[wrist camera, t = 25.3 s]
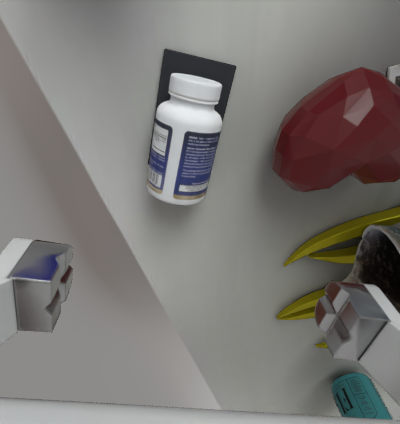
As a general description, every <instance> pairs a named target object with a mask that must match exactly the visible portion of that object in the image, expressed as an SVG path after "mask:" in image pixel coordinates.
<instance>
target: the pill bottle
mask: <svg viewBox="0 0 400 424" xmlns="http://www.w3.org/2000/svg"><path fill="white" fill-rule="evenodd" d="M221 89H222V84H220V83H219V82H216V81H213V80H210V79H206V78H203V77H198V76H193V75H188V74H181V73H172V74H171V77H170V83H169V91H168V93H169V94H170V95H171V97H170V100H169V101H165V102H163V103H161V104H160V105H159V106H158V108H157V111H156V118H155V125H154V132H153V140H152V147H151V154H150V162H149V169H148V177H147V189H148V191H149V192H150V194H151V195H152V196H154V197H155V198H157V199H159V200H161V201H163V202H167V203H170V204H175V205H194V204H197V203H199V202H201V201H202V200H203V199H204V197H205V194H206V191H207V187H208V182H209V178H210V174H211V170H212V166H213V161H214V157H215V153H216V149H217V145H218V141H219V137H220V133H221V128H222V119H221V116H220V115H219V114H218V113H217V112H216V111H215V110H214V107H215V105H216V104H218V100H219V99H220V94H221Z"/></svg>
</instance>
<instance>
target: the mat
mask: <svg viewBox="0 0 400 424" xmlns="http://www.w3.org/2000/svg"><path fill="white" fill-rule="evenodd" d="M235 70H236V66H234V65H230V64H226V63H222V62H218V61H214V60H209V59H205V58H201V57H197V56H193V55H189V54H185V53H181V52H176V51H172V50H168V49H165V50H164V56H163V63H162V70H161V77H160V84H159V91H158V98H157V105H156V111H157V108H158V106H159V105H160V104H161V103H163V102H165V101H169V100H170V97H171V95H170V94H169V93H168V91H169V83H170V77H171V74H172V73H181V74H188V75H193V76H198V77H203V78H206V79H210V80H213V81H216V82H219V83H220V84H222V89H221V94H220V99H219V100H218V104H216V105H215V107H214V110H215V111H216V112H217V113H218V114H219V115H220V116H221V119H222V121H223V117H224V113H225V109H226V106H227V102H228V98H229V94H230V90H231V86H232V82H233V78H234V74H235ZM155 118H156V112H155ZM154 125H155V119H154ZM153 132H154V126H153ZM153 132H152V139H151V146H150V153H149V160H148V165H149V162H150V154H151V147H152V140H153Z"/></svg>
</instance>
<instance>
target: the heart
mask: <svg viewBox="0 0 400 424" xmlns="http://www.w3.org/2000/svg"><path fill="white" fill-rule="evenodd" d="M272 168H273V170H274V171H275V172H276V174H277V175H278V176H279V177H280V178H281V179H282V180H283V181H284V182H285V183H286V184H287V185H288V186H289V187H291V188H292V189H293V190H296V191H301V192H308V191H314V190H320V189H326V188H330V187H331V186H333V185H334V184H336V183H338V182H339V181H341V180H342V179H344V178H345V177H347V176H348V175H350V174H351V175H352V176H354V177H355V178H356V179H358V180H359V181H361V182H362V183H364V184H369V183H383V182H395V181H397V180H398V179H399V178H400V87H398V86H397V85H396V84H394V83H393V82H392V81H390V80H389V79H388V78H386V77H385V76H384V75H382V74H381V73H380V72H377V71H373V70H370V69H366V68H363V67H361V68H358V69H355V70H352V71H349V72H346V73H343V74H341V75H338V76H335V77H333V78H331V79H329V80H327V81H326V82H324V83H323V84H322V85H320V86H319V87H317V88H316V89H314V90H313V91H312V92H310V93H309V94H307V95H306V96H305V97H303V98H302V99H301V100H300V101H299V102H298V103H297V104H296V105H295V106H294V107H293V108H292V109H291V110H290V111H289V112H288V113H287V114H286V116H285V118H284V119H283V121H282V123H281V125H280V128H279V130H278V133H277V136H276V139H275V141H274V147H273V155H272Z"/></svg>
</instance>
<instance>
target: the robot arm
mask: <svg viewBox="0 0 400 424" xmlns="http://www.w3.org/2000/svg"><path fill="white" fill-rule="evenodd" d="M72 258H73V247H72V246H71V245H66V244H60V243H54V242H47V241H41V240H33V239H26V238H20V237H16V238H14V239H12V240H11V241H10V242H9V243H8V245H7V246H6V247H5V248H4V250H3V251H2V252H1V253H0V346H1V345H2V344H4V343H5V342H6V341H7V340H9V339H10V338H11V337H12V336H14V335H15V334H16V333H17V332H18V330H21V331H36V332H52V331H53V329H54V327H55V324H56V322H57V320H58V317H59V315H60V309H61V308H60V307H61V303H63V302H64V301H66V298H67V296H68V294H69V290H70V287H71V283H72V275H73V268H72V267H71V266H70V265H69V264H70V262H71V260H72ZM325 293H326V295H324V296H322V297H321V298H319V300H318V302H317V304H316V306H315V320H316V323H317V325H318V327H319V328H320V329H321V330H322V331H323V332H324V333H325V334H326V335H325V339H324V340H325V342H326V344H327V346H328V348H329V350H330V352H331V354H332V356H333V358H338V359H346V360H354V361H358V363H359V364H360V365H361V366H362V367H363V368H364V369H365V370H366V371H367V372H368V373H369V374H370V376H371V377H372V378H373V379H374V380H375V381H376V382H377V383H378V384H379V385H380V386H381V387H382V388H383V389H384V390H385V391H386V392H387V393H388V394H389V395H390V396H391V397H392V398H393V399H394V401H395V402H396V403H397V404H398V405H399V406H400V314H399V313H398V311H397V310H396V309H395V307H394V306H393V305H392V304H391V302H390V301H389V300H388V299H387V297H386V296H385V295H384V294H383V292H382V291H381V290H380V288H378V287H377V286H375V285H370V284H361V283H360V284H357V283H350V282H342V281H334V280H331V281H330V282H329V283H328V284H327V285H326V287H325ZM0 424H400V420H388V419H370V418H353V417H335V416H317V415H299V414H281V413H264V412H247V411H230V410H213V409H196V408H195V409H194V408H179V407H161V406H145V405H126V404H110V403H109V404H108V403H92V402H75V401H58V400H41V399H23V398H5V397H0Z"/></svg>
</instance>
